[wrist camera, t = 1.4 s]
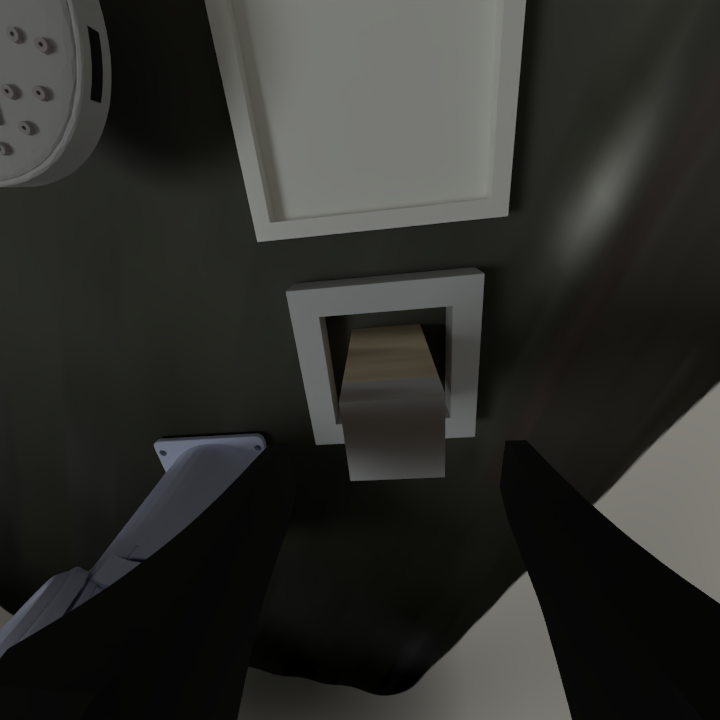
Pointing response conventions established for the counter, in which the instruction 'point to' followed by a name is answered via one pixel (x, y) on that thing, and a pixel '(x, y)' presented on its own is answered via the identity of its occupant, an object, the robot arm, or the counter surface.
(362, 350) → the peg
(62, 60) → the showerhead
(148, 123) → the counter surface
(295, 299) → the holder
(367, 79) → the tray
